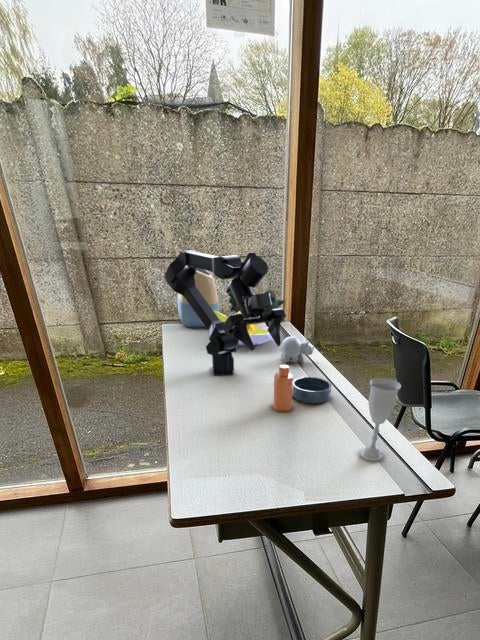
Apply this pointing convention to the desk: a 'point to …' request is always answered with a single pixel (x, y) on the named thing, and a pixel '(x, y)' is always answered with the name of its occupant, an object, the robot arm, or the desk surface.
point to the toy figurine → (268, 309)
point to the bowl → (311, 390)
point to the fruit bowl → (252, 331)
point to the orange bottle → (282, 389)
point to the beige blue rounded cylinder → (207, 290)
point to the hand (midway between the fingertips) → (266, 347)
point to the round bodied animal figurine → (294, 349)
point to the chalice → (380, 410)
